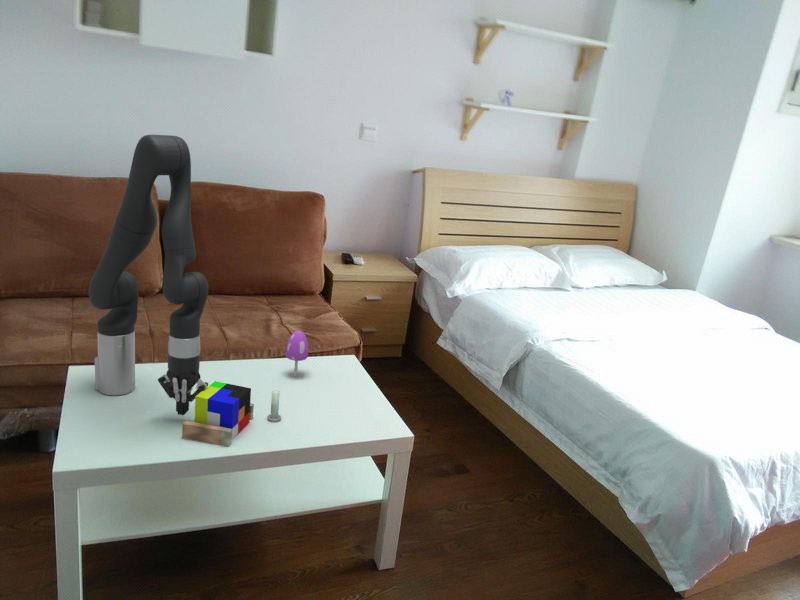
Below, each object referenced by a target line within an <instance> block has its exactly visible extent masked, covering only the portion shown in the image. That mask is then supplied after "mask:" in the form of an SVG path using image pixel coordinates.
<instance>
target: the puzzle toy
mask: <svg viewBox="0 0 800 600" xmlns="http://www.w3.org/2000/svg"><path fill="white" fill-rule="evenodd" d="M251 395H252V388H251V387H248V386H247V387H246V386H241V385H237V384H231V383H226V382H223V381H216V380H214V382H212V383H211V384H209V385H208V386H207V387H206V388H205V389H204V390H203V391H202V392H200V393H199V394H198V395H197V396H195V399H194V403H195V404H194V422H195V423H200V424H206V425H212V426H218V427H223V428H229V429H232V441H233V440H235V438H236V437H237V436H238V435H240V433H241V432H242V431H243V430H244V429H245V428H246V427H247V426H248V425H249V424H250V420H249V419H250V403H251V397H252V396H251Z"/></svg>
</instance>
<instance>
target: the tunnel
mask: <svg viewBox="0 0 800 600" xmlns="http://www.w3.org/2000/svg"><path fill="white" fill-rule="evenodd" d="M254 405H255V404H254V403H251V402H250V419H249V421H250V420H252V419H253V418H254V407H255V406H254ZM181 426H182V427H181V430H182V431H181V434H182V435H181V437H182V439H184V440H190V441H196V442H201V443H207V444H211V445H212V444H213V445H217V446H224V447H230V446H231V445H232V443H233V440H232V429H229V428H223V427H218V426H212V425H206V424H200V423H195V421H194V422H193V421H189V420H188V421H187V420H185V421H183V423H182V425H181Z"/></svg>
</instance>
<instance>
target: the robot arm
mask: <svg viewBox="0 0 800 600" xmlns="http://www.w3.org/2000/svg"><path fill="white" fill-rule="evenodd" d="M159 176H168V177H169V183H170V196H169V201H168V204H167V207H166V210H165V212H164V216H163V217H162V223H161V238H162V246H163V251H164V256H165V257H164V264H163V265H164V267H163V275H162V284H161V285H162V286H161V287H162V293H163V296H164V298H165V299H166V301H167V302H169V304H172V305H174V306H175V305H181V307H178V308H177V309H176V310H174V311H172V312H171V313H170V317H169V335H168V343H167V371H166V374H163V375H161V376H160V377H158V378H157V381H158V383H159V384H160V386H161V388H162V389H163V390H164V392H165V393H166V395H167V396H168V398H170V399H174V400H175V411H176V413H177V415H181V416H184V415H186V414H187V413H188V412H189V410H190V403H191V402H193V401H195V396H197V395H198V394H199V393H200V392H202V391H203V390H204V389H206V388H207V387H208V386H209V382H205V381H203V380H202V379H201V377H202V376H201V374H200V363H201V361H200V360H201V359H200V357H201V338H200V336H201V335H200V333H201V332H200V331H201V330H200V329H201V317H202V315H203V312H204V308H205V305H206V302H207V301H208V300H207V298H208V295H209V283H208V280H207V278H206V276H205V275H204V274H203V273H202V272H199V271H191V272H185V273H184V271H185V268H186V267H185V266H186V265H188V264H189V263H193V262H194V261H195V259H196V258H197V252H196V244H195V239H194V232H193V227H192V226H193V225H192V214H191V213H192V212H191V211H192V210H191V209H192V208H191V207H192V206H191V203H192V202H191V201H192V199H191V198H192V195H191V194H192V161H191V152H190V149H189V145H188V144H187V142H186V141H185V140H184V138H182V137H180V136H178V135H170V134H169V135H168V134H167V135H166V134H146V135H143V136H141V138H140V139H139V140H138V142H137V143H136V146H135V149H134V153H133V155H132V161H131V167H130V170H129V175H128V179H127V184H126V187H125V191H124V195H123V197H122V201H121V204H120V206H119V209H118V211H117V214H116V217H115V219H114V222H113V225H112V228H111V233H110V236H109V239H108V241H107V245H106V247H105V249H104V251H103V254H102V257H101V259H100V260H99V262H98V264H97V266H96V269H95V271H94V273H93V275H92V277H91V278H90V282H89V285H88V298H89V302H90V303H91V305H92V306H93V307H94V308H96V309H98V310H109V312H107V313H106V314H105V315H104V316H102V317H101V318H99V320H97V324H96V327H97V328H96V330H97V356H95V358H94V381H95V383H94V384H95V391H98V392H100V393H101V394H103V395H106V396H122V395H127V394H129V393H132V392H133V391H134V390H135V388H136V336H135V335H136V334H135V333H136V330H135V329H136V324H137V321H138V310H139V309H138V308H139V307H138V305H139V286H138V282H137V280H136V278H135V275H133V274H132V273H131V272H129V271H125V270H126V269H127V268H128V267H129V266H130V265H131V264H132V263H133V262H134V261H135V260H136V259H137V258H139V256H140V255H142V254H143V253H144V251H145V250H147V248H148V247H149V245H150V243H151V242H152V241H151V240H152V238H153V235H154V234H155V230H156V228H157V225H158V215H157V211H156V209H155V206H154V203H153V201H152V190H153V186H154V185H155V181H156V179H157V178H158V177H159ZM195 385H196V387H195V388H196V390H195V391H194V392H193V393H192V391H193V387H194V386H195Z"/></svg>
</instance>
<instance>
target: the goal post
mask: <svg viewBox="0 0 800 600" xmlns="http://www.w3.org/2000/svg"><path fill="white" fill-rule="evenodd" d="M280 393H281V392H280V391H279V389H278V390H277V389H273V390H272V391H271V401H270V404H271V405H270V413H269V414H268V415H267V417H266V418H267V421H268V422H271V423H278V422H280V421H281V420H282V416H281V415H280V414H279V408H280V407H279V406H280Z"/></svg>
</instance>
